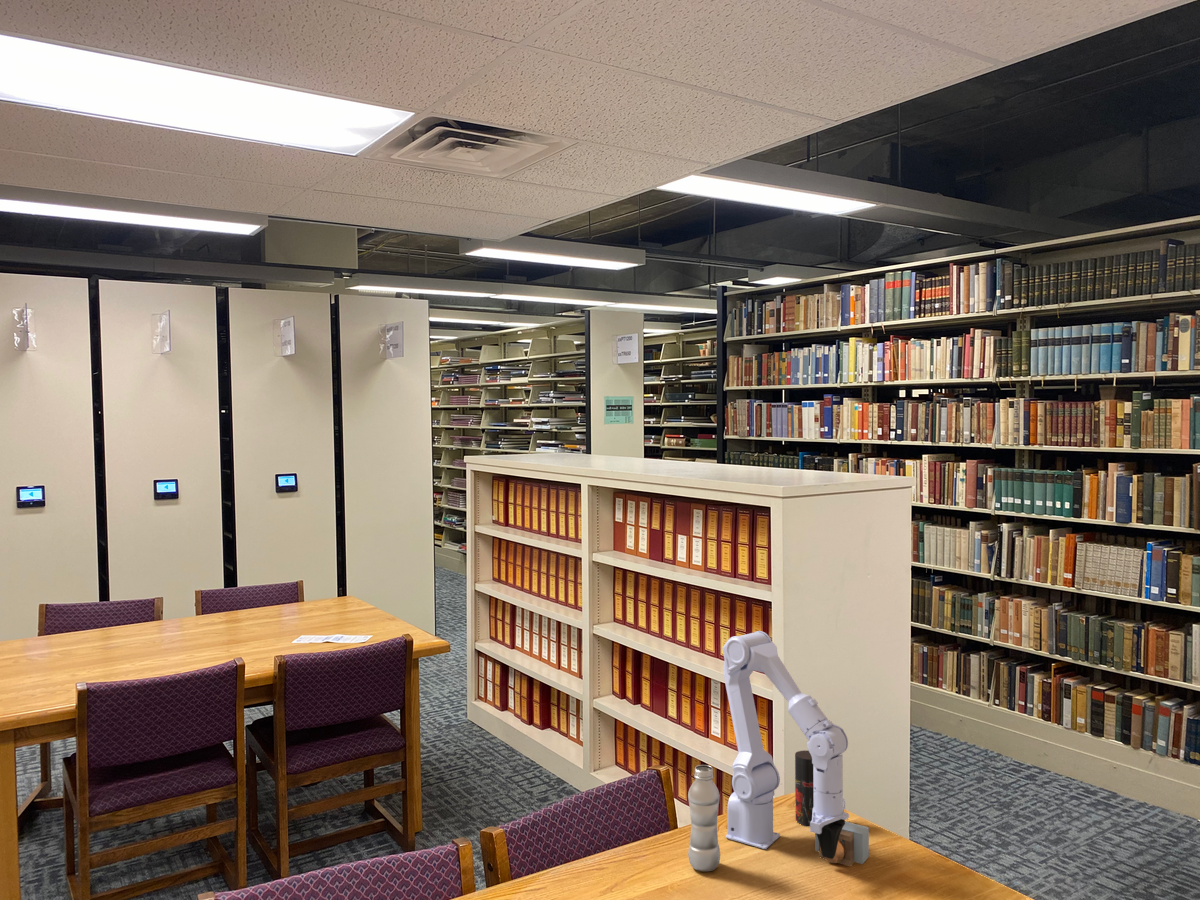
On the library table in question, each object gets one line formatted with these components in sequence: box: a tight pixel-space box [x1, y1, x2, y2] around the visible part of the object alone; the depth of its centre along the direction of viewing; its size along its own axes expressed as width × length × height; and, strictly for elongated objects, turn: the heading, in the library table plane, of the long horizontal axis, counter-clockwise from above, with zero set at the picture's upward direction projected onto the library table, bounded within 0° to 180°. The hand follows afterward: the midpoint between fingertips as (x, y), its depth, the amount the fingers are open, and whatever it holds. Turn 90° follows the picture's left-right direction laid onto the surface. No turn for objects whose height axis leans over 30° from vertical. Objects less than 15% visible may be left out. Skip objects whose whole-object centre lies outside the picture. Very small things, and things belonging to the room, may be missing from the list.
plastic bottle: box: [687, 764, 721, 872], centre depth 166 cm, size 6×7×20 cm
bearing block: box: [814, 820, 870, 865], centre depth 172 cm, size 10×4×6 cm, turn 54°
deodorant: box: [794, 749, 814, 827], centre depth 188 cm, size 6×6×15 cm
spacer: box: [818, 830, 855, 867], centre depth 169 cm, size 7×2×6 cm, turn 54°
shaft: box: [820, 839, 846, 864], centre depth 172 cm, size 11×5×5 cm, turn 144°
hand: (828, 856), depth 166 cm, fingers closed
